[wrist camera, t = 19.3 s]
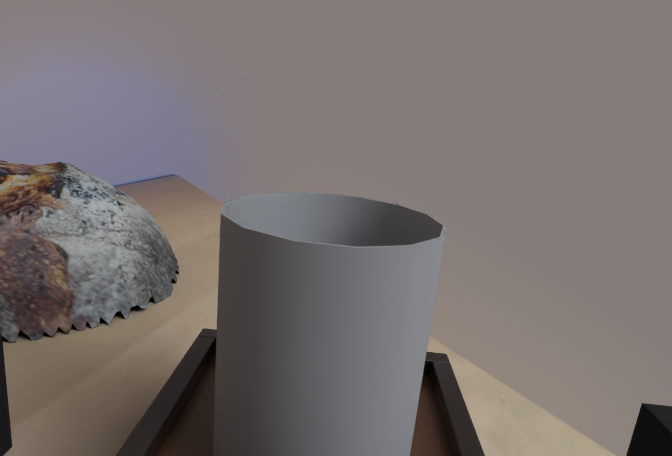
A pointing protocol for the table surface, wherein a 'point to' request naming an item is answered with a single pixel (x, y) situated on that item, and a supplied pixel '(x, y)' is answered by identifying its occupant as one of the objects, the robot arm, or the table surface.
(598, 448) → the table surface
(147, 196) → the table surface
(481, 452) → the brown wooden tray
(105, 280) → the bread
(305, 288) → the cup
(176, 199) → the table surface
